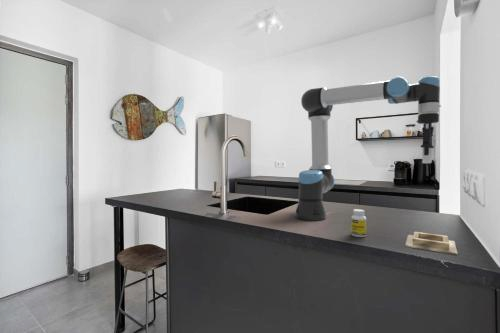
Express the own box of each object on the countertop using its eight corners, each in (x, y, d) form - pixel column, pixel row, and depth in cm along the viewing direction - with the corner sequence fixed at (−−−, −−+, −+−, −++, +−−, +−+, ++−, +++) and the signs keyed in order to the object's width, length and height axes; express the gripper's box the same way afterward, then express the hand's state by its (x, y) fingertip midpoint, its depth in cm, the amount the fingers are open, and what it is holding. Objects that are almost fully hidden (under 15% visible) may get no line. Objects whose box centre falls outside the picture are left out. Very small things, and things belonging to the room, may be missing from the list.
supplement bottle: (349, 236, 103) (350, 210, 102) (352, 232, 107) (352, 208, 107) (365, 238, 100) (365, 212, 99) (367, 234, 104) (367, 209, 104)
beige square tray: (405, 246, 90) (405, 239, 90) (408, 236, 102) (408, 229, 102) (457, 254, 83) (457, 246, 82) (454, 242, 94) (454, 235, 94)
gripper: (438, 108, 103) (436, 163, 104) (439, 116, 123) (438, 162, 124) (415, 110, 108) (414, 163, 109) (420, 117, 128) (419, 162, 129)
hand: (427, 163), depth 116 cm, fingers open, 13 cm apart
